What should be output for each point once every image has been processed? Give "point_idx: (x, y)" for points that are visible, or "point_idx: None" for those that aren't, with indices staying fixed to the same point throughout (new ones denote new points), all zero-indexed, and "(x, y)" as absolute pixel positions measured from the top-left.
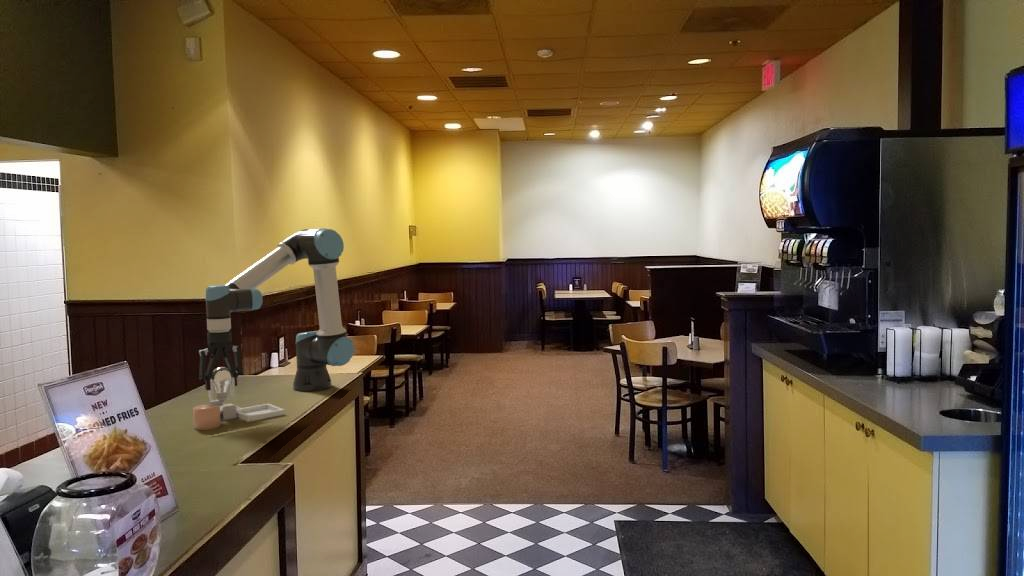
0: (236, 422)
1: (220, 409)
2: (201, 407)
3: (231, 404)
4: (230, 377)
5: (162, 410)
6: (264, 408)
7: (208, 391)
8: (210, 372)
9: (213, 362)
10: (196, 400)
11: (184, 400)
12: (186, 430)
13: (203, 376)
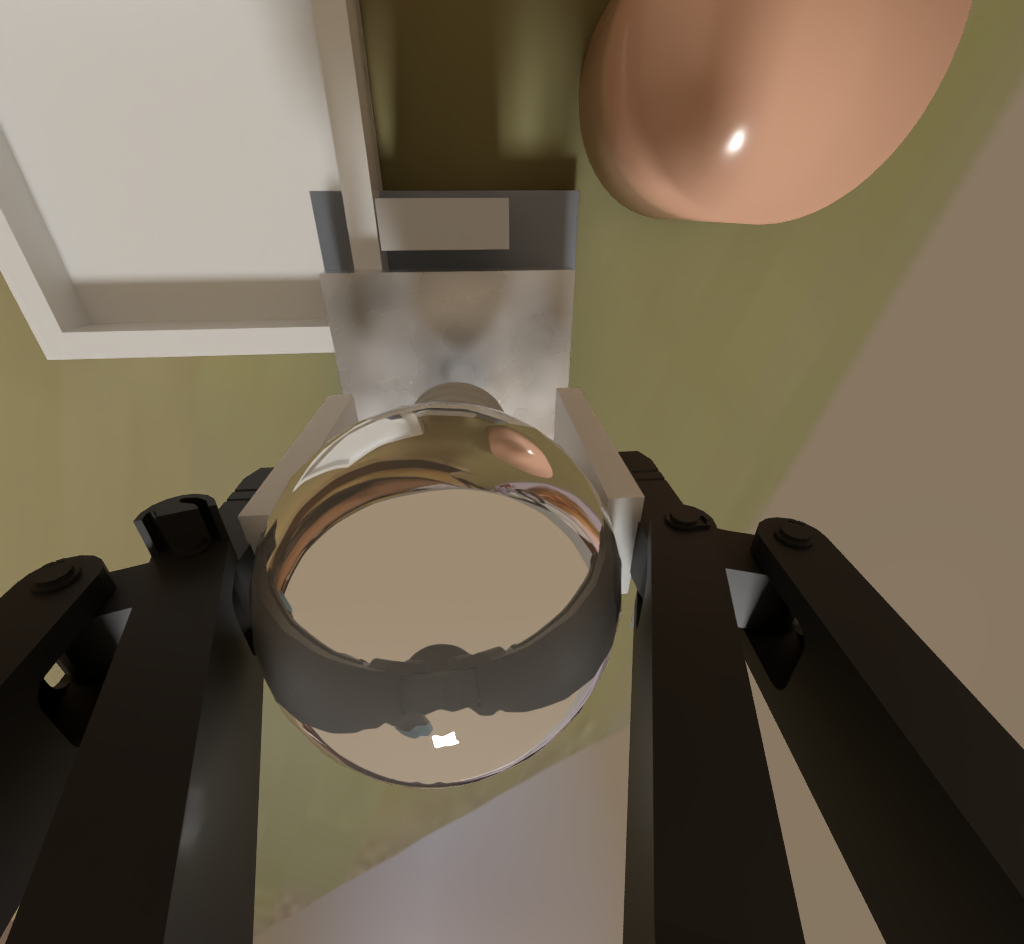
0: (422, 112)
1: (494, 342)
2: (843, 77)
3: None
4: (314, 458)
5: (624, 695)
6: (111, 324)
7: None
8: (702, 613)
9: (744, 910)
10: None
11: None
12: None
13: (810, 556)
